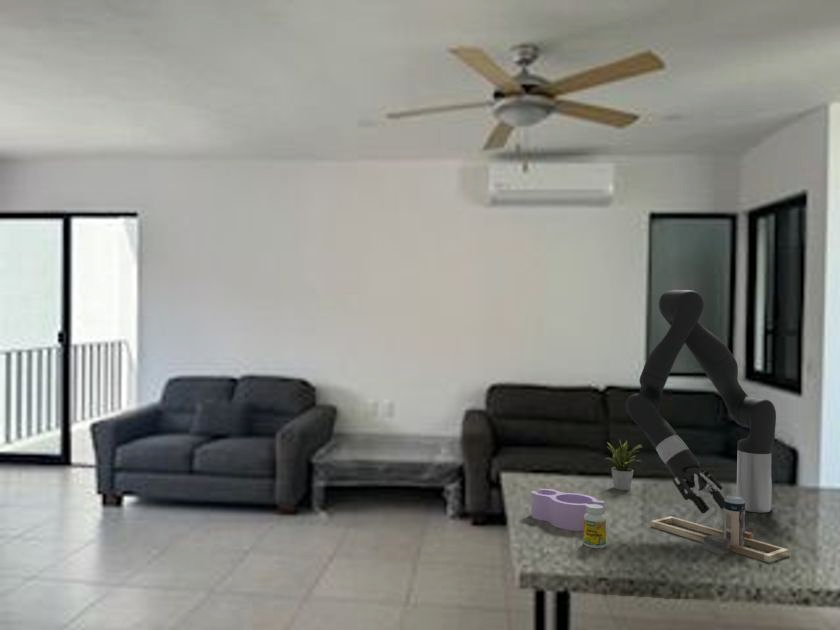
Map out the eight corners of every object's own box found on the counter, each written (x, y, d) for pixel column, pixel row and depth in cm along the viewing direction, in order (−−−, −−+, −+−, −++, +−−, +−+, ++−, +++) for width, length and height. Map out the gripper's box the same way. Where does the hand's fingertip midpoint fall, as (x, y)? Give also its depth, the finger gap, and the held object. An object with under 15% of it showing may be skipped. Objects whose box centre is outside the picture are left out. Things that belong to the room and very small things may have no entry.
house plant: (652, 495, 220) (653, 444, 220) (609, 493, 221) (610, 442, 221) (639, 484, 235) (640, 436, 235) (598, 483, 235) (599, 435, 235)
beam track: (674, 520, 192) (674, 509, 192) (792, 554, 165) (792, 542, 165) (639, 529, 183) (639, 517, 183) (758, 566, 156) (758, 553, 156)
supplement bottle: (606, 543, 171) (607, 504, 171) (605, 549, 165) (606, 510, 166) (584, 540, 172) (584, 502, 172) (582, 547, 167) (583, 507, 167)
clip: (522, 518, 191) (522, 493, 191) (548, 510, 200) (548, 486, 200) (584, 535, 177) (585, 508, 177) (609, 526, 186) (610, 500, 186)
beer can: (746, 549, 168) (747, 500, 168) (725, 547, 169) (726, 498, 169) (741, 543, 173) (742, 495, 173) (721, 541, 174) (722, 494, 174)
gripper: (669, 450, 178) (709, 505, 169) (701, 445, 186) (741, 497, 177) (651, 467, 183) (689, 521, 173) (683, 461, 191) (721, 513, 181)
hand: (715, 509), depth 175 cm, fingers open, 8 cm apart
